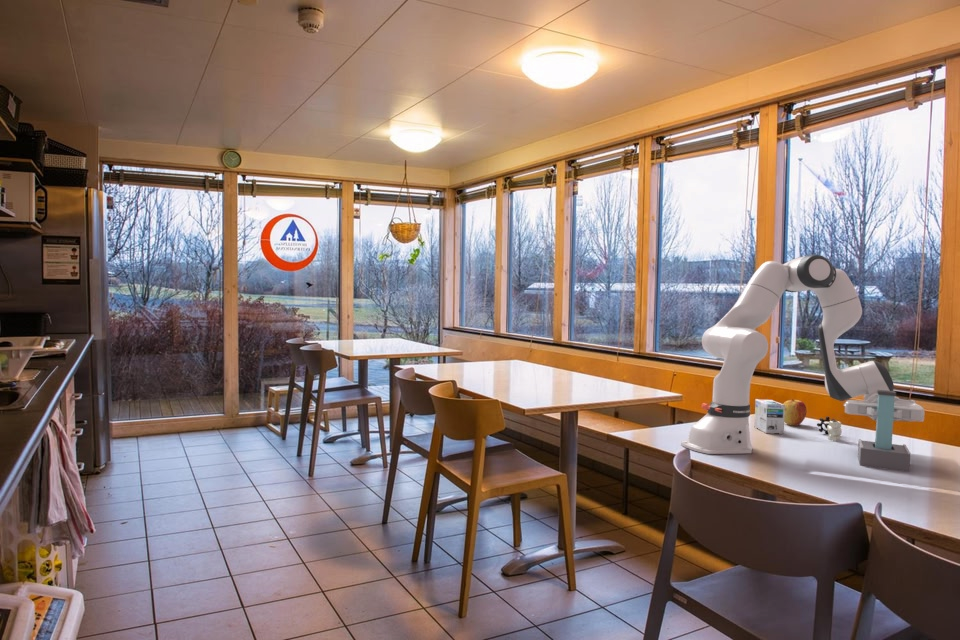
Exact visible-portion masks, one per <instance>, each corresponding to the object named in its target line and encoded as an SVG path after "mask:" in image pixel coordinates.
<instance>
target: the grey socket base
mask: <svg viewBox="0 0 960 640" xmlns="http://www.w3.org/2000/svg"><path fill="white" fill-rule="evenodd" d="M857 460H858V464H859V466H861V467H868V468H875V469H876V468H878V469H885V470H892V471H898V472H899V471H900V472H907V473H910V468H911V467H910V466H911V451H910V450H909V448H908V447H907V445H906V444H903V443H902V444H897V443H894V444H893V443H892V448H891V449H882V448H875V441H868V440H862V439H860V438H859V439H858V446H857Z"/></svg>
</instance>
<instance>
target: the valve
mask: <svg viewBox="0 0 960 640" xmlns="http://www.w3.org/2000/svg"><path fill="white" fill-rule="evenodd" d="M819 421H820V423H819V422H818V423H816V426H817V427H819V429H818V431H819V433H823V432H824V435H826V434H828V435H827V437H828V438H827V439H828V441H830V440H833V441H832V442H841V435H842V430H843V429H842V421H838V420H835V418H832V419H830V417H829V416H828V415H827V416H825V419H824V418H822V417H820V418H819ZM825 422H827V423H825ZM823 425H824V427H823ZM825 428H826V429H825Z"/></svg>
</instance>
